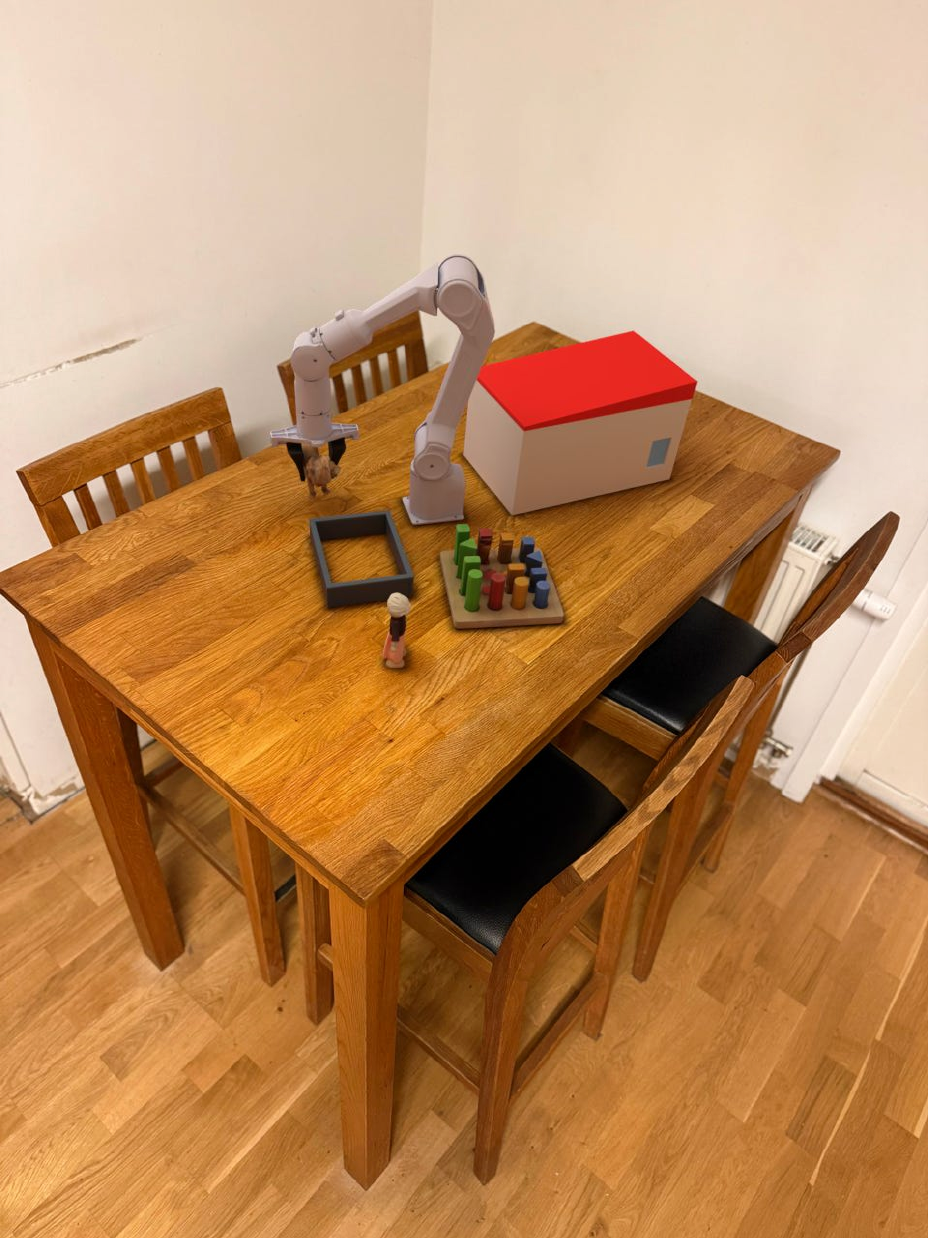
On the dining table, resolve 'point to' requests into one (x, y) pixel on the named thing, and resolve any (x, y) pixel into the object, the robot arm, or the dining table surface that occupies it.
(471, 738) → the dining table surface
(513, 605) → the peg board
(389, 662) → the grandmother figurine
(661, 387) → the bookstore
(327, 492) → the lion figurine
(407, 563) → the crate
